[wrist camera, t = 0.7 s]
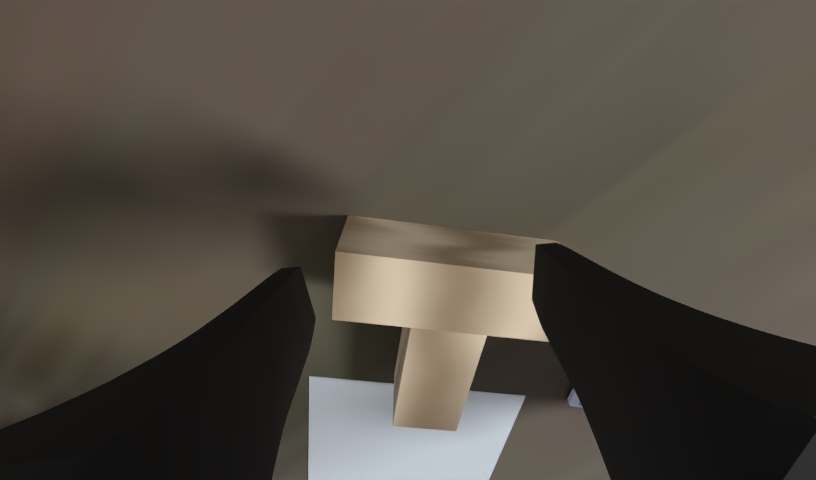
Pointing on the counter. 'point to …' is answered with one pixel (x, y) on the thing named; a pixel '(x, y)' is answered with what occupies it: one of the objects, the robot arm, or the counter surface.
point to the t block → (435, 305)
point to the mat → (401, 435)
